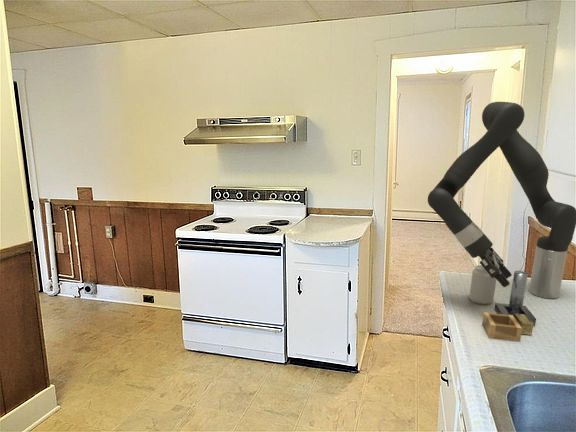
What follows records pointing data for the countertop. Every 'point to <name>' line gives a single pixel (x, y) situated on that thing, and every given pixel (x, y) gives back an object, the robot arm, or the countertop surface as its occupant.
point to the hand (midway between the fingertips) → (508, 281)
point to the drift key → (524, 323)
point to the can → (482, 286)
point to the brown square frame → (501, 326)
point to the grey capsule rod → (517, 292)
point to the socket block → (504, 308)
